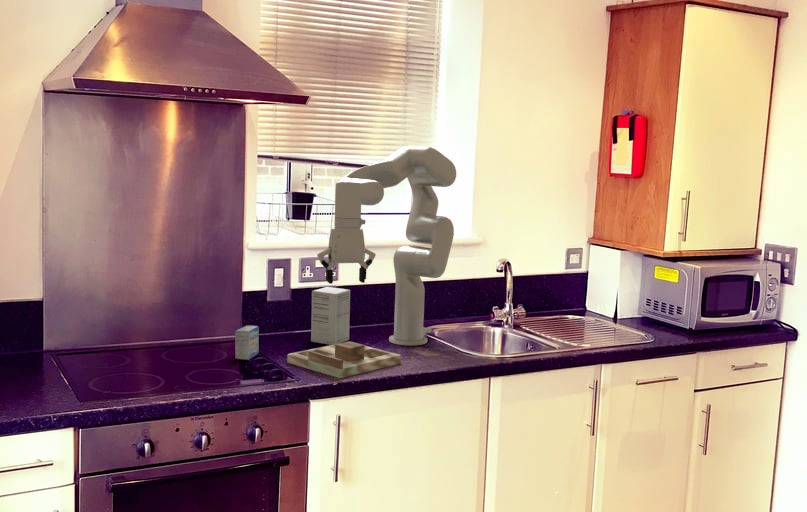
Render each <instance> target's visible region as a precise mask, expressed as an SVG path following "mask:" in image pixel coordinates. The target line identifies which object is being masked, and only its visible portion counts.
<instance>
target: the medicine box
mask: <svg viewBox="0 0 807 512" xmlns="http://www.w3.org/2000/svg"><path fill="white" fill-rule="evenodd" d="M259 332H260V327H259V326H258V325H245V326H242V327H240V328H239V329H236V330H235V333H234V335H235V336H234V337H235V341H234V342H235V343H234V344H235V345H234V346H235V347H234V348H235V349H234V352H235V353H234V354H235V356H234V357H235V359H237V360H246V361H250V360H251V359H253V358H254V357H256V356H257V355H259V342H260V341H259V340H260V339H259V335H260V333H259Z"/></svg>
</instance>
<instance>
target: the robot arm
mask: <svg viewBox="0 0 807 512" xmlns="http://www.w3.org/2000/svg"><path fill="white" fill-rule="evenodd" d="M456 178H457V169H456V166H455V164H454V162H452V161H451V160H450V159H449V158H448V157H446V156H445V155H444V154H443V153H442V152H441V151H439V150H437V149H435V148H433V147H430V146H419V145H418V146H417V145H416V146H415V145H407V146H403V147H401V148H400V149H398V150H396V151H395V152H393V153H391V155H389V156H387V157H386V158H384V160H382V161H379V162H376V163H372V164H370V165H365V166H363V167H360V168H357V169H353V170H352V171H351V172H349V173H347V174H346V175H345V176H343V177H342V178H341V179H340V180H339V181H337V182H336V183H335V186H334V187H335V189H334V193H335V194H334V227H331V230H330V234H329V240H328V248H326V249H325V250H322V251H321V252H319V253H317V258H318V260H319V262H320V264H321V265H322V266H323V267H324V268H325V280H326V281H327V283H328V284H333V283H334V269H333V267H335V265H336V264H359V266H360V268H359V269H358V281H359V282H360V283H362V284H364V283H366V281H365V280H366V279H367V269H368V268H369V267H370V266H371V265H372V264H373V261H374V260H375V258H376V256H377V255H376V253H375V252H373V251H371V250H369V249H367V248H366V246H365V243H366V242H365V235H364V230H363V228H362V225H366V219H363V217H362V206H376V205H378V204H379V203H381V201H383V199H384V196H385V189H386V188H392V187H395V186H397V185H399V184H401V183H402V182H403V181H405V180H406V179H407V181H408V183H409V186H410V188H411V189H410V190H411V193H412V203H411V207H410V213H409V215H408V220H407V225H406V227H405V228H406V229H405V236H406V238H407V241H409V242H412V243H416V244H421V245H430V246H431V247H425V246H419V245H411V244H410V245H403V246H400V247H397V249H396V250H395V252H394V253H393V268H394V274H395V275H394V276H395V294H394V296H395V297H394V317H393V318H394V319H393V320H394V322H393V328H394V329H393V335H390V336H389V338H388V341H389V342H390V343H392V344H394V345H398V346H423V345H425V344H427V343H428V338H427V337H426V336H425V335H426V334H429V333H432V327H431V326H428V327H424V315H425V293H426V291H425V285H424V282H423V280H422V278H421V277H423V278H429V279H430V278H431V279H438V278H440V277H442V276H443V274H444V273H445V271H446V268H447V264H448V261H449V256H450V252H451V249H452V246H453V245H452V244H453V241H454V236H455V234H454V233H455V228H454V224H453V222H452V220H451V219H450V218H448V217H446V216H442V215H437V213H438V208H439V198H438V195H437V193H436V191H435V190H434V189H433V188H434V187H441V188H448V187H450V186H452V185H454V183H455V181H456ZM366 254H367V256H368V258H367V259H366ZM326 256H327V259H328V261H326V260H325V257H326ZM365 259H366V260H365Z"/></svg>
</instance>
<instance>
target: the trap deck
mask: <svg viewBox="0 0 807 512" xmlns="http://www.w3.org/2000/svg"><path fill="white" fill-rule="evenodd" d="M339 344H340V343H339ZM286 359H287V360H286V361H287V363H288V364H290V365H294V366H298V367H301V368H304V369H308V370H310V371H311V370H312V371H314V372H318V373H322V374H324V375H328V376H332V377H335V378H338V379H342V378H346V377H351V376H355V375H358V374H364V373H366V372H367V373H368V372H371V371H375V370H378V369H379V370H380V369H382V368H387V367H391V366H395V365H399V364H401V362H402V361H401V360H402V354H399V353H395V352H390V351H387V350H383V349H379V348H375V347H373V346H372V347H370V346H367V345H365V349H364V359H360V360H356V361H352V362H347V361H344V360H342V359H338V358H335V344H334V345H326V346H321V347H316V348H311V349H308V350H307V349H306V350H301V351H296V352H291V353H288V354H287V358H286Z"/></svg>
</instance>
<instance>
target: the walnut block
mask: <svg viewBox="0 0 807 512" xmlns="http://www.w3.org/2000/svg"><path fill="white" fill-rule="evenodd" d="M365 346H366V345H365V344H363V343H362V344H361V343H358V342H353V341H349V340H348V341H345V342H342V343H340V344H335V358H338V359H342V360H344V361H347V362H352V361H356V360H360V359H364V349H365Z"/></svg>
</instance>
